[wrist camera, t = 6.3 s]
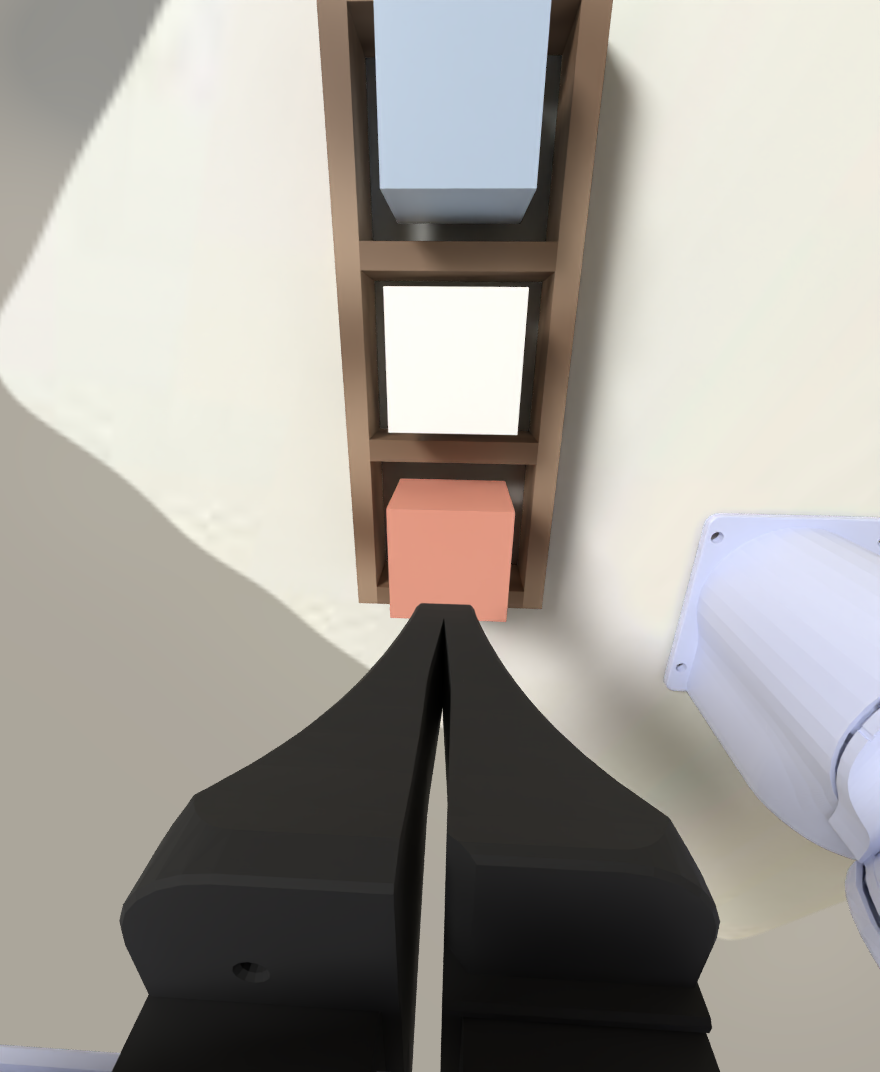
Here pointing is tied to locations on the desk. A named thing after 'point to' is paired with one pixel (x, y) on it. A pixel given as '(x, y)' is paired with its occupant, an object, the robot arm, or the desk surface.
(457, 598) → the key terracotta
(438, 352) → the key white
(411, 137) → the key blue
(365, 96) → the frame
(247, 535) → the desk surface
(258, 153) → the desk surface
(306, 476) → the desk surface
